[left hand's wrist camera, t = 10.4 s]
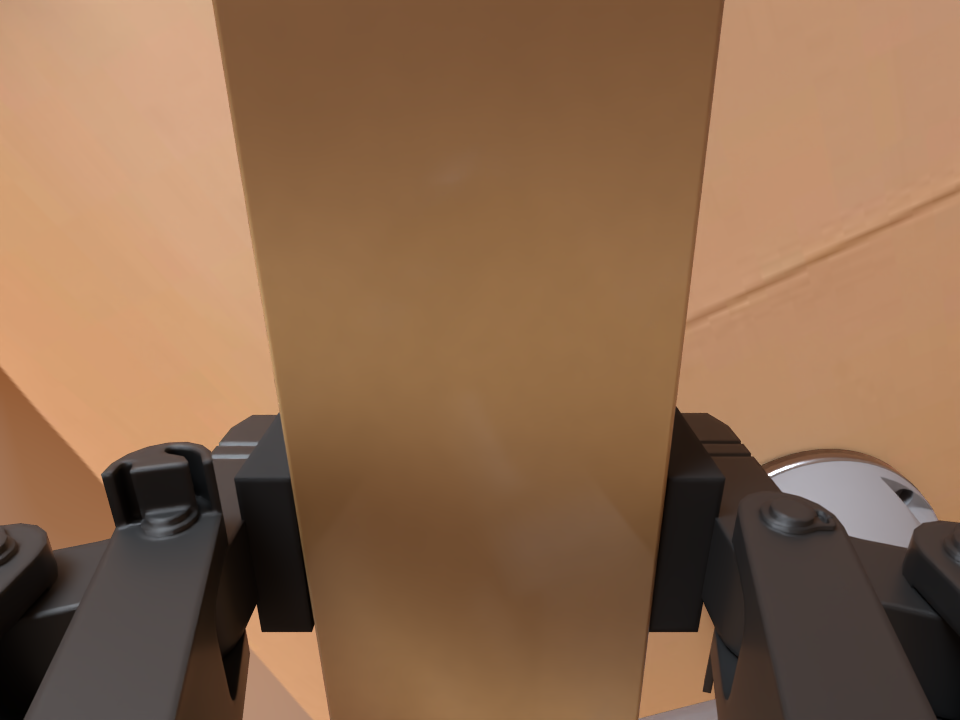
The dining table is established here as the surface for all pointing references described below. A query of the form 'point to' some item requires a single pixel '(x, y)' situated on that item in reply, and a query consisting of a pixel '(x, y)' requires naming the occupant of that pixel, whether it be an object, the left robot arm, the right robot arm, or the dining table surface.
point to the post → (475, 330)
